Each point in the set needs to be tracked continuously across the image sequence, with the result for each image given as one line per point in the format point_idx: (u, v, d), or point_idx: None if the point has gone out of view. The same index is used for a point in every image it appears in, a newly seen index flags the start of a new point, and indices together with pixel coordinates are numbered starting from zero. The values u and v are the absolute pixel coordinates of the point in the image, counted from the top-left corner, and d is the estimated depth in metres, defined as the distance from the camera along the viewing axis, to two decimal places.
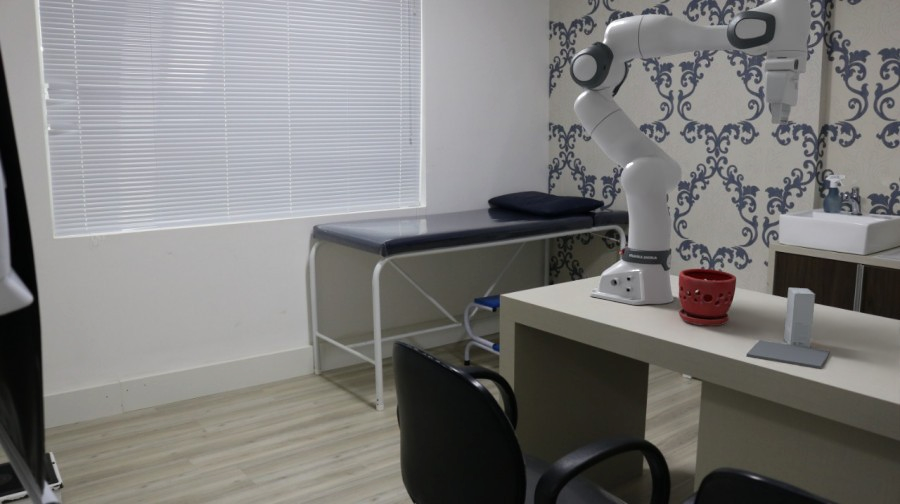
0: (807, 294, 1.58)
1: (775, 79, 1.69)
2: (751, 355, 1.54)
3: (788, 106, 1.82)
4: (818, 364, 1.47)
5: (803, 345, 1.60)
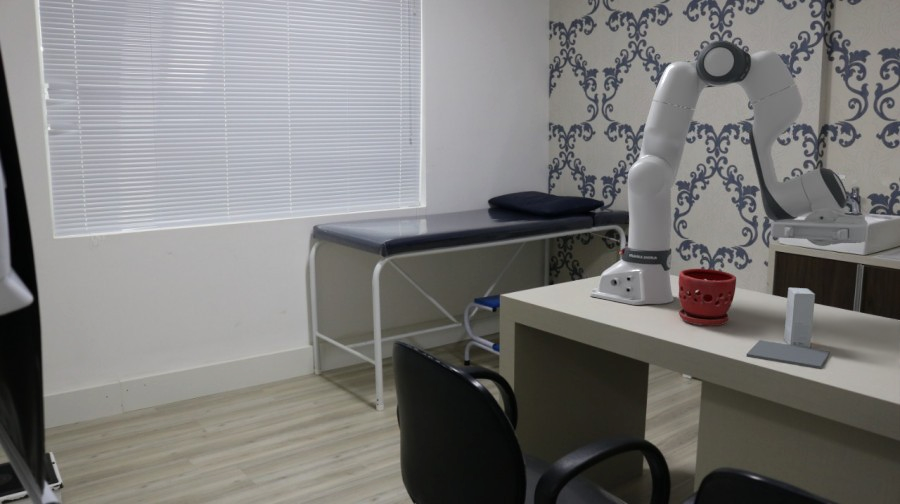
0: (807, 294, 1.58)
1: None
2: (751, 355, 1.54)
3: None
4: (818, 364, 1.47)
5: (803, 345, 1.60)
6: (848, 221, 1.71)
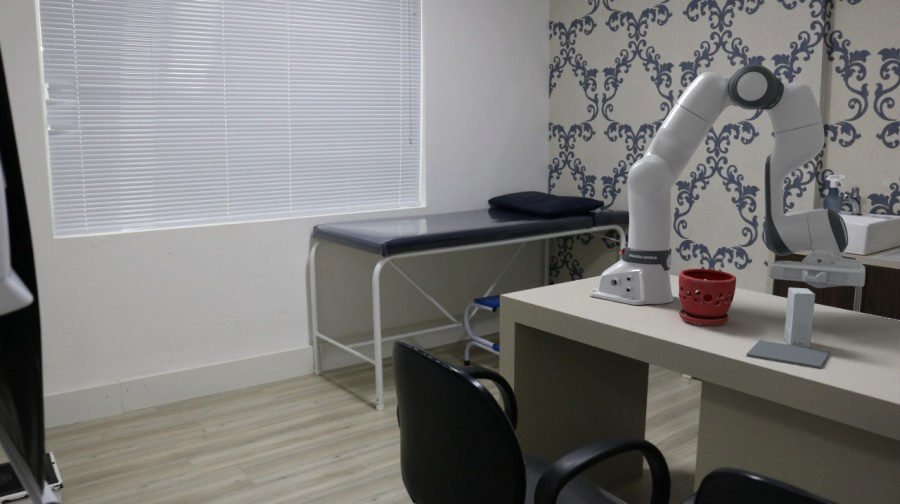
0: (807, 294, 1.58)
1: None
2: (751, 355, 1.54)
3: None
4: (818, 364, 1.47)
5: (803, 345, 1.60)
6: (845, 265, 1.73)
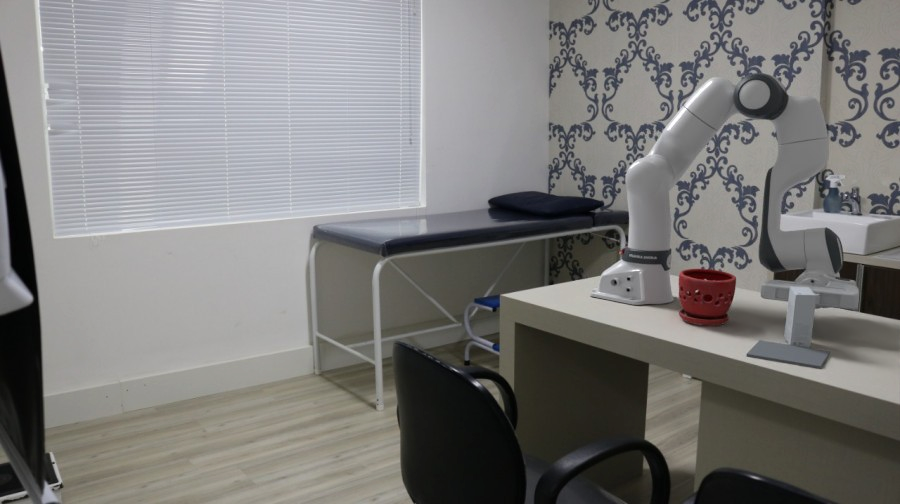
0: (808, 295, 1.57)
1: None
2: (751, 355, 1.54)
3: None
4: (818, 364, 1.47)
5: (803, 345, 1.60)
6: (839, 287, 1.69)
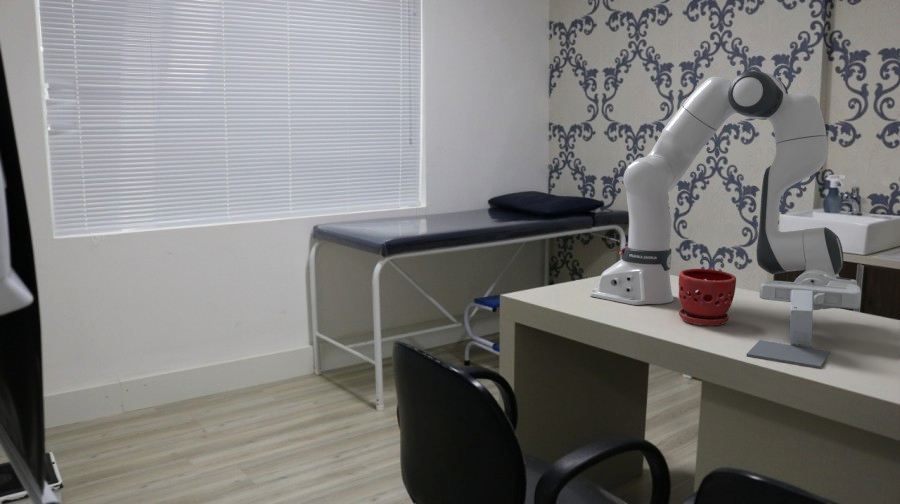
0: (804, 311, 1.52)
1: None
2: (751, 355, 1.54)
3: None
4: (818, 364, 1.47)
5: (803, 346, 1.59)
6: (840, 286, 1.64)
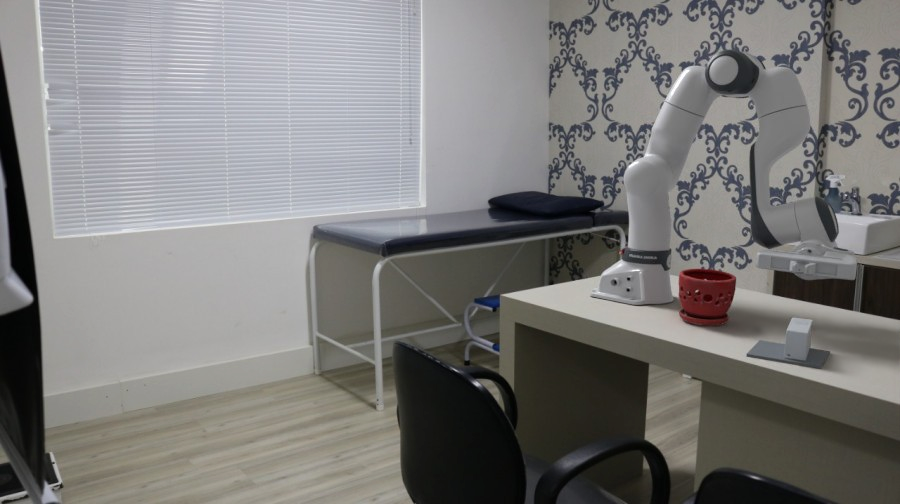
0: (797, 359, 1.50)
1: None
2: (751, 355, 1.54)
3: None
4: (818, 364, 1.47)
5: None
6: (836, 257, 1.63)
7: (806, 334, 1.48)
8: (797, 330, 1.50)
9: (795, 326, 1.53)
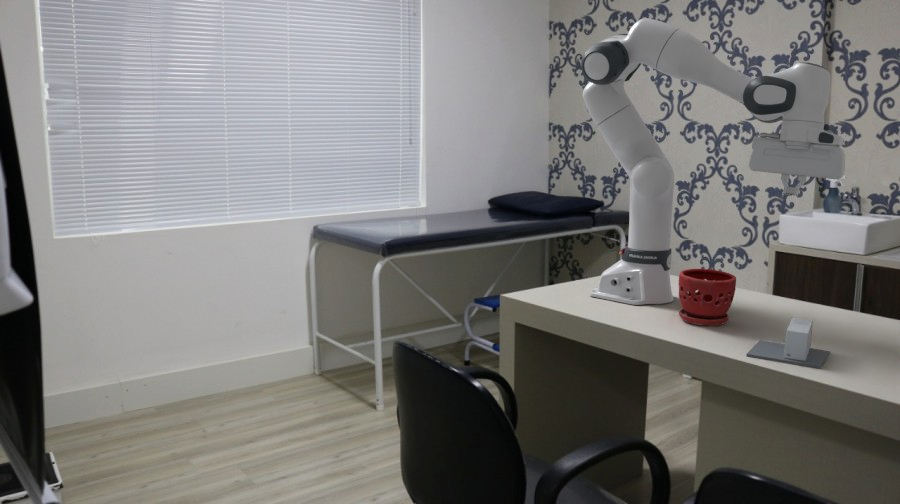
0: (797, 359, 1.50)
1: (843, 156, 1.66)
2: (751, 355, 1.54)
3: (789, 175, 1.73)
4: (818, 364, 1.47)
5: None
6: (823, 151, 1.67)
7: (806, 334, 1.48)
8: (797, 330, 1.50)
9: (795, 326, 1.53)
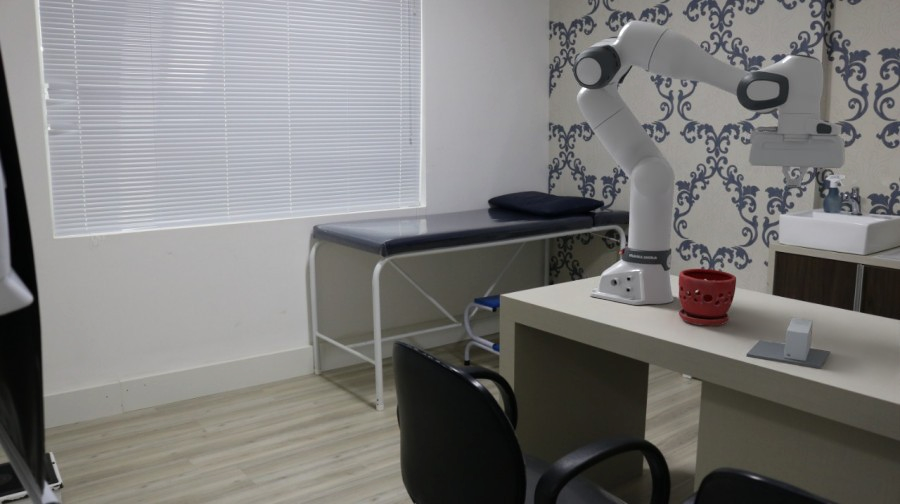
0: (797, 359, 1.50)
1: (843, 145, 1.66)
2: (751, 355, 1.54)
3: None
4: (818, 364, 1.47)
5: None
6: (822, 142, 1.67)
7: (806, 334, 1.48)
8: (797, 330, 1.50)
9: (795, 326, 1.53)
